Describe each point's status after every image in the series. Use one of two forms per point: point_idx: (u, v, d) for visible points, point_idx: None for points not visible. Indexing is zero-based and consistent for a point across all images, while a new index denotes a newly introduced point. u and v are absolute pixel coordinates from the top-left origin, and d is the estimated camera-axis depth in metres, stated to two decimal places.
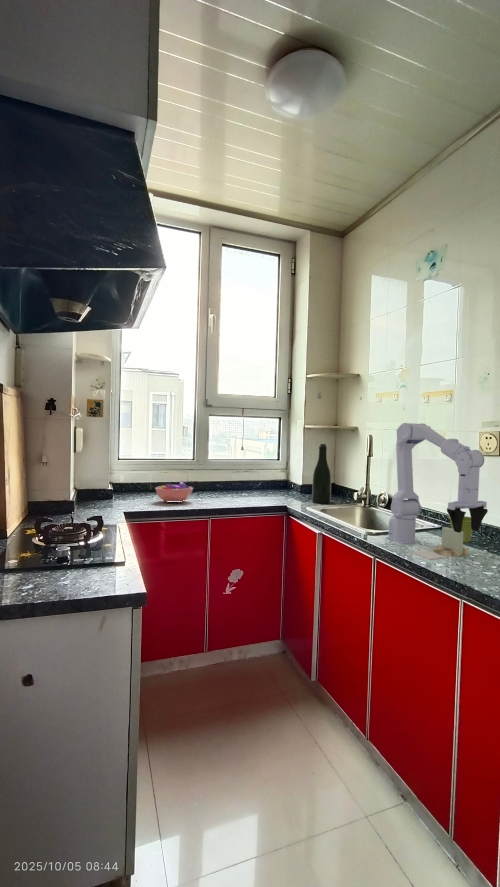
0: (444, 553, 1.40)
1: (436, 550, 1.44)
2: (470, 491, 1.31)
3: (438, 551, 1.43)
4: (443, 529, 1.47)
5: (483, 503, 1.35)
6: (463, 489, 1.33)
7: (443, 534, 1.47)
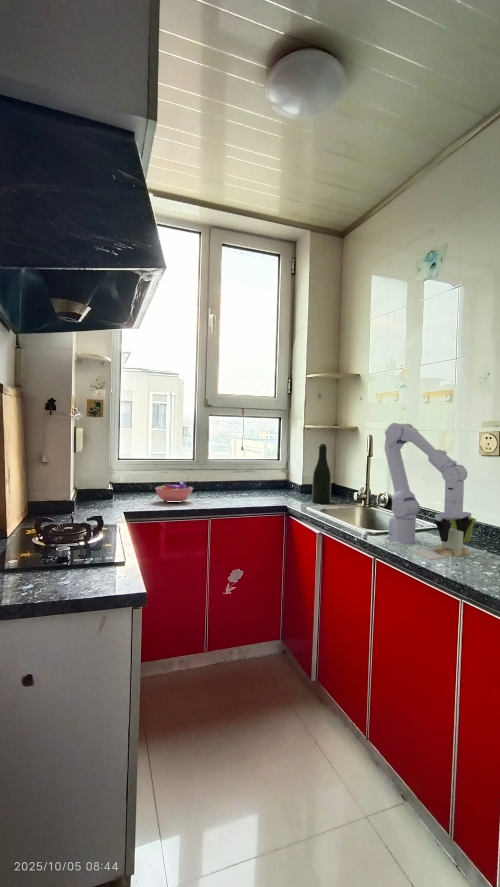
0: (444, 553, 1.40)
1: (436, 550, 1.44)
2: (455, 503, 1.42)
3: (438, 551, 1.43)
4: None
5: (468, 514, 1.45)
6: (449, 501, 1.43)
7: None
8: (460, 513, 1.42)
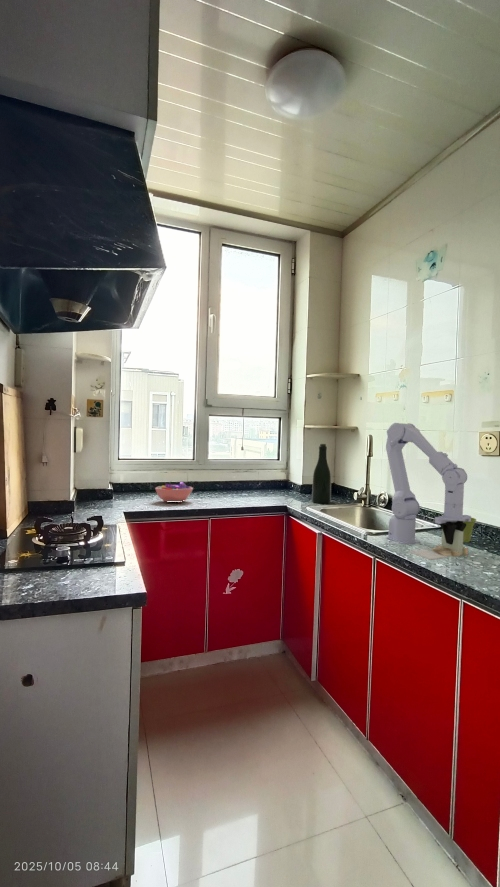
0: (444, 553, 1.41)
1: (436, 550, 1.44)
2: (455, 506, 1.42)
3: (438, 551, 1.43)
4: None
5: (468, 517, 1.45)
6: (449, 504, 1.43)
7: (443, 534, 1.47)
8: (460, 516, 1.42)
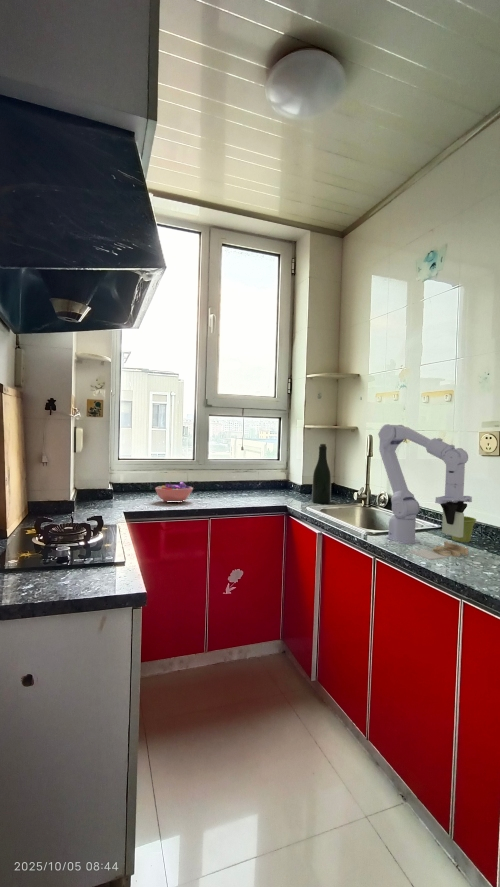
0: (443, 553, 1.41)
1: (435, 550, 1.44)
2: (456, 486, 1.41)
3: (437, 551, 1.43)
4: None
5: (468, 498, 1.45)
6: (449, 484, 1.42)
7: (444, 516, 1.47)
8: (461, 496, 1.42)
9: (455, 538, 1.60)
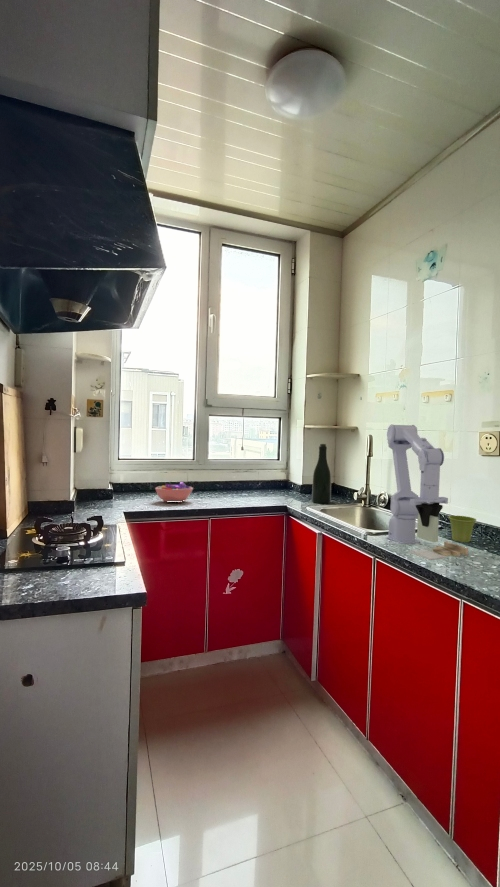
0: (443, 553, 1.41)
1: (435, 550, 1.44)
2: (431, 487, 1.37)
3: (437, 551, 1.43)
4: (419, 515, 1.43)
5: (444, 499, 1.41)
6: (424, 485, 1.38)
7: (419, 520, 1.43)
8: (436, 497, 1.37)
9: (455, 538, 1.60)
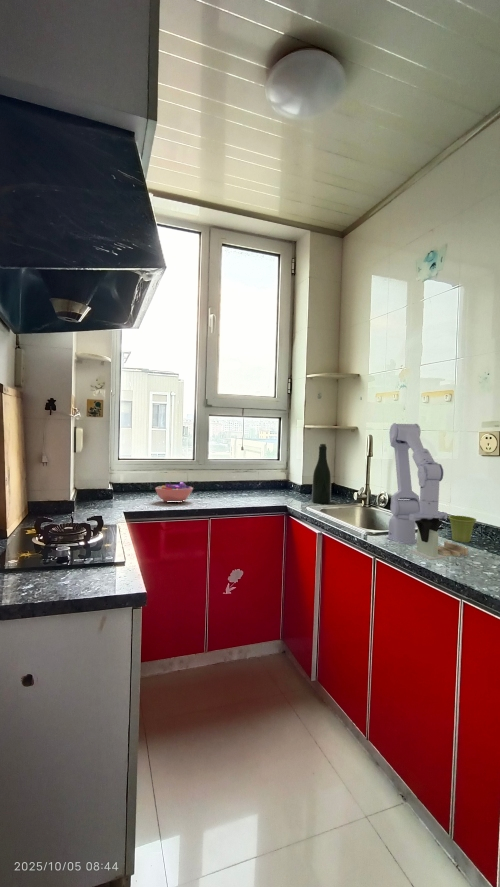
0: (442, 553, 1.41)
1: None
2: (430, 503, 1.37)
3: None
4: (418, 529, 1.43)
5: (444, 514, 1.41)
6: (424, 501, 1.38)
7: (418, 534, 1.43)
8: (435, 513, 1.38)
9: (455, 538, 1.60)
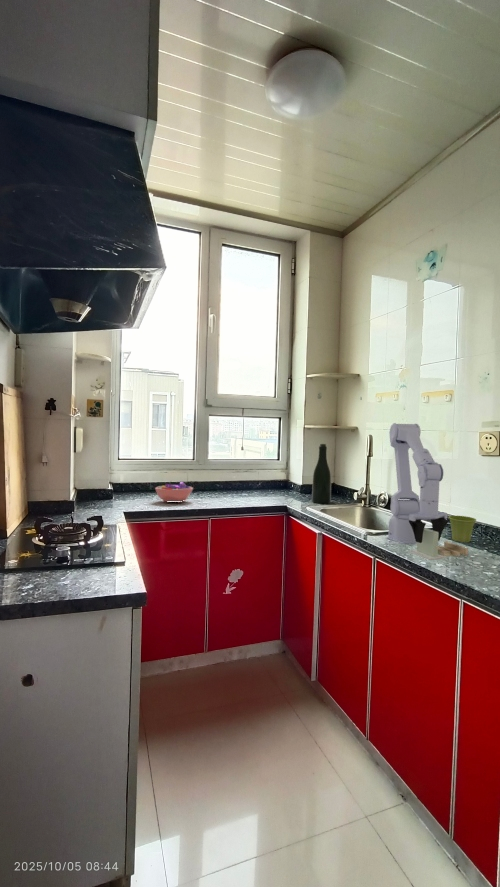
0: (443, 553, 1.41)
1: None
2: (430, 503, 1.37)
3: None
4: None
5: (444, 514, 1.41)
6: (424, 501, 1.38)
7: None
8: (435, 513, 1.38)
9: (455, 538, 1.60)
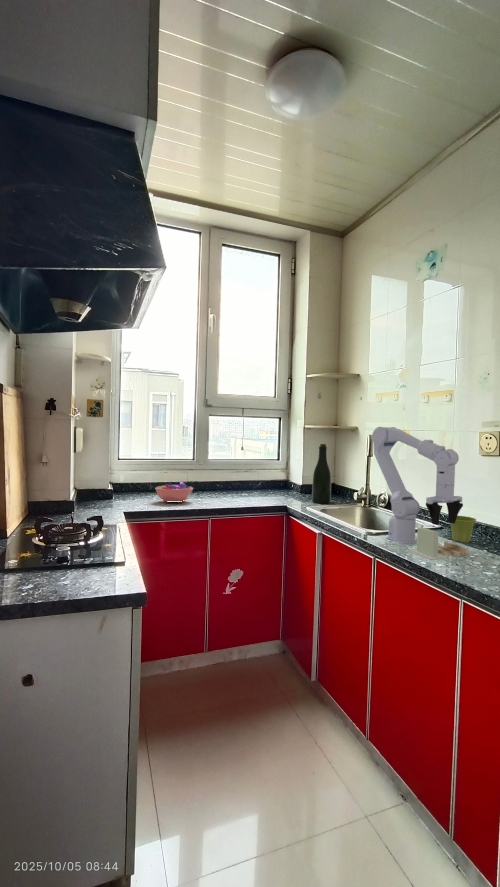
0: (443, 554, 1.41)
1: None
2: (446, 487, 1.44)
3: None
4: (418, 529, 1.43)
5: (459, 498, 1.47)
6: (440, 485, 1.45)
7: (418, 534, 1.43)
8: (451, 496, 1.44)
9: (455, 538, 1.60)
